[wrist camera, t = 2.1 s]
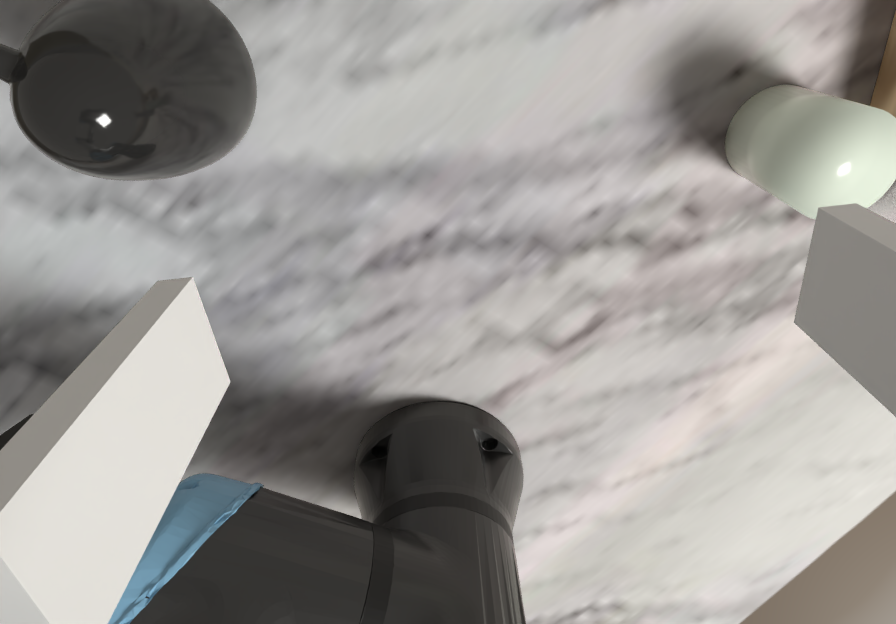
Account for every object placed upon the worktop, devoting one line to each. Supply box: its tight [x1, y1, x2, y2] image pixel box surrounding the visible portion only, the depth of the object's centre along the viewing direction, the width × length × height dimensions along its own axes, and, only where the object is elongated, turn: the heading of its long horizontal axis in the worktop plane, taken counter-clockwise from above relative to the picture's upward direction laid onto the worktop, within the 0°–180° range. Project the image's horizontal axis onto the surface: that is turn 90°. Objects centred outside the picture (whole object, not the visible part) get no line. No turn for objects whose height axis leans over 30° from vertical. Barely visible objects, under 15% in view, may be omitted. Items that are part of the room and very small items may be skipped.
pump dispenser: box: [0, 0, 257, 181], centre depth 30 cm, size 10×10×15 cm
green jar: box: [725, 85, 896, 220], centre depth 36 cm, size 6×6×8 cm
